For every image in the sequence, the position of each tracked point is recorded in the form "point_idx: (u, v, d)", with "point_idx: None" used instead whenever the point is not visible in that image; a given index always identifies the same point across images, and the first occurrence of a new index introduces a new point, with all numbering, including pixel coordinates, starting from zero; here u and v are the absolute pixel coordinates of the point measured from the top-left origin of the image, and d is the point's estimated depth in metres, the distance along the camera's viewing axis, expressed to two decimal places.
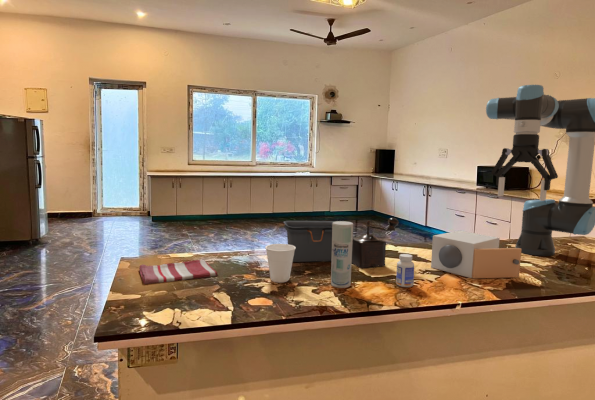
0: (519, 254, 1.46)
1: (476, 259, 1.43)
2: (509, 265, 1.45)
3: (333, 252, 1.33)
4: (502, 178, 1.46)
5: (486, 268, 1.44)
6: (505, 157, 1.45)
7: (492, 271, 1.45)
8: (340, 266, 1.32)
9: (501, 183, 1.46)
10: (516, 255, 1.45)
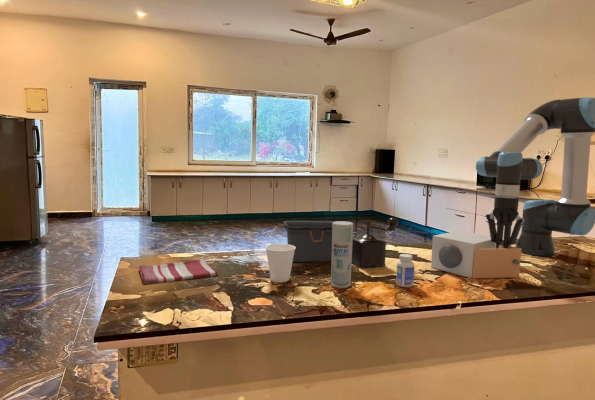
0: (519, 254, 1.46)
1: (476, 259, 1.43)
2: (509, 265, 1.45)
3: (333, 252, 1.33)
4: None
5: (486, 268, 1.44)
6: (493, 221, 1.51)
7: (492, 271, 1.45)
8: (340, 266, 1.32)
9: None
10: (516, 255, 1.45)
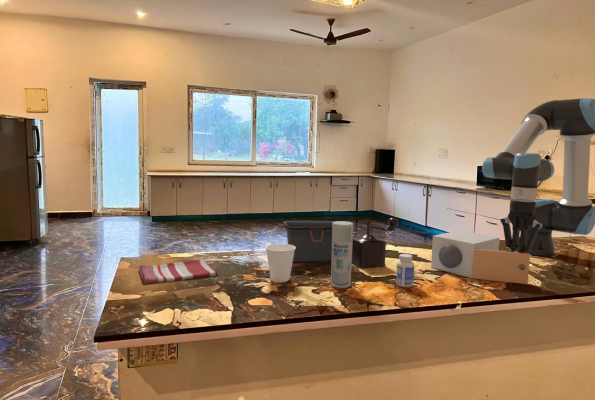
0: (527, 260, 1.38)
1: (475, 259, 1.43)
2: (515, 270, 1.40)
3: (333, 252, 1.33)
4: None
5: (486, 270, 1.42)
6: (508, 226, 1.44)
7: (494, 274, 1.42)
8: (340, 266, 1.32)
9: None
10: (523, 260, 1.39)
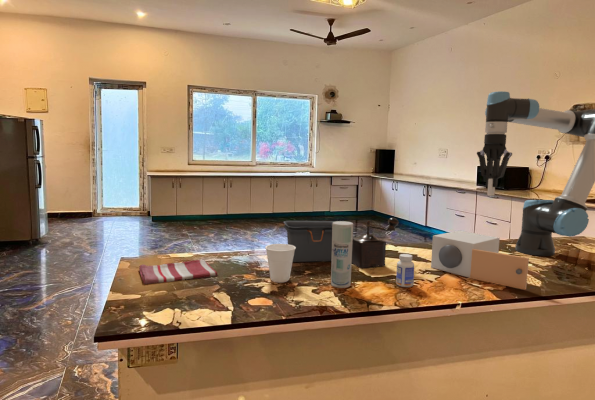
0: (525, 264, 1.33)
1: (473, 259, 1.43)
2: (513, 274, 1.35)
3: (333, 252, 1.33)
4: None
5: (484, 271, 1.41)
6: (483, 158, 1.65)
7: (491, 276, 1.40)
8: (340, 266, 1.32)
9: None
10: (521, 264, 1.33)
